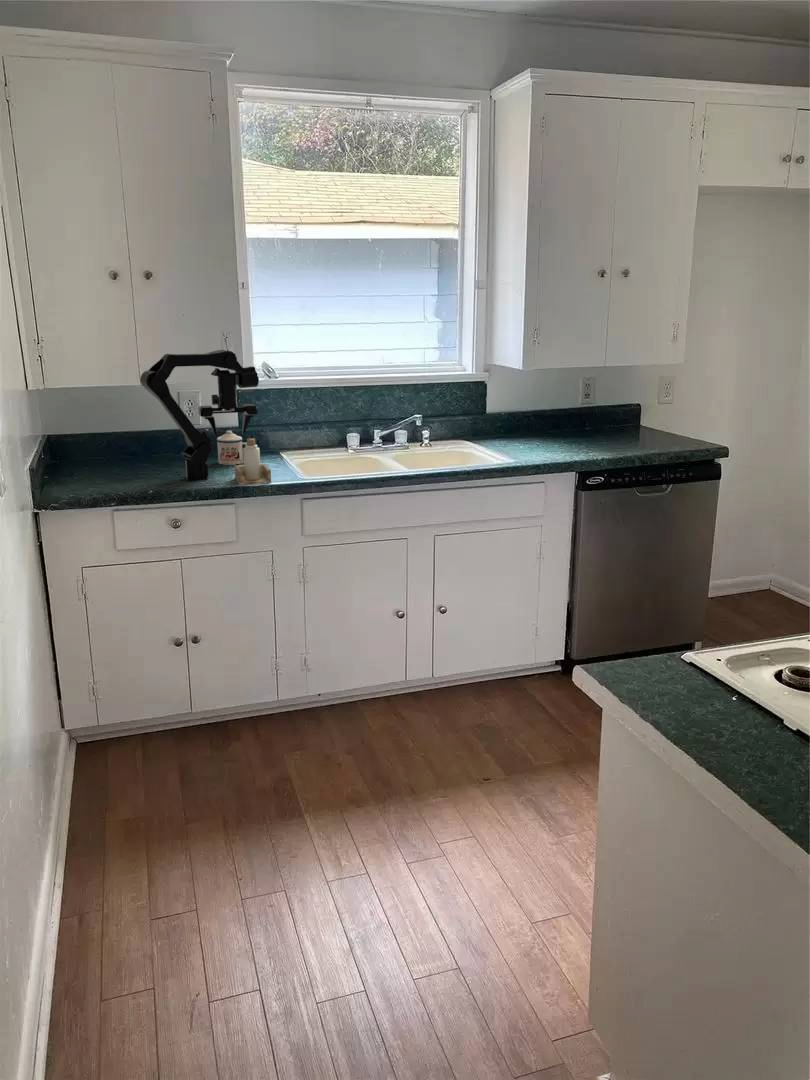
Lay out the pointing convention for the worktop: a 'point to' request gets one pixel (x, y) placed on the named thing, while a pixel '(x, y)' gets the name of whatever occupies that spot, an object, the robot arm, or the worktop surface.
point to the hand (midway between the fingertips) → (229, 435)
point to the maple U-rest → (242, 481)
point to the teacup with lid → (230, 449)
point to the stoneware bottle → (251, 460)
